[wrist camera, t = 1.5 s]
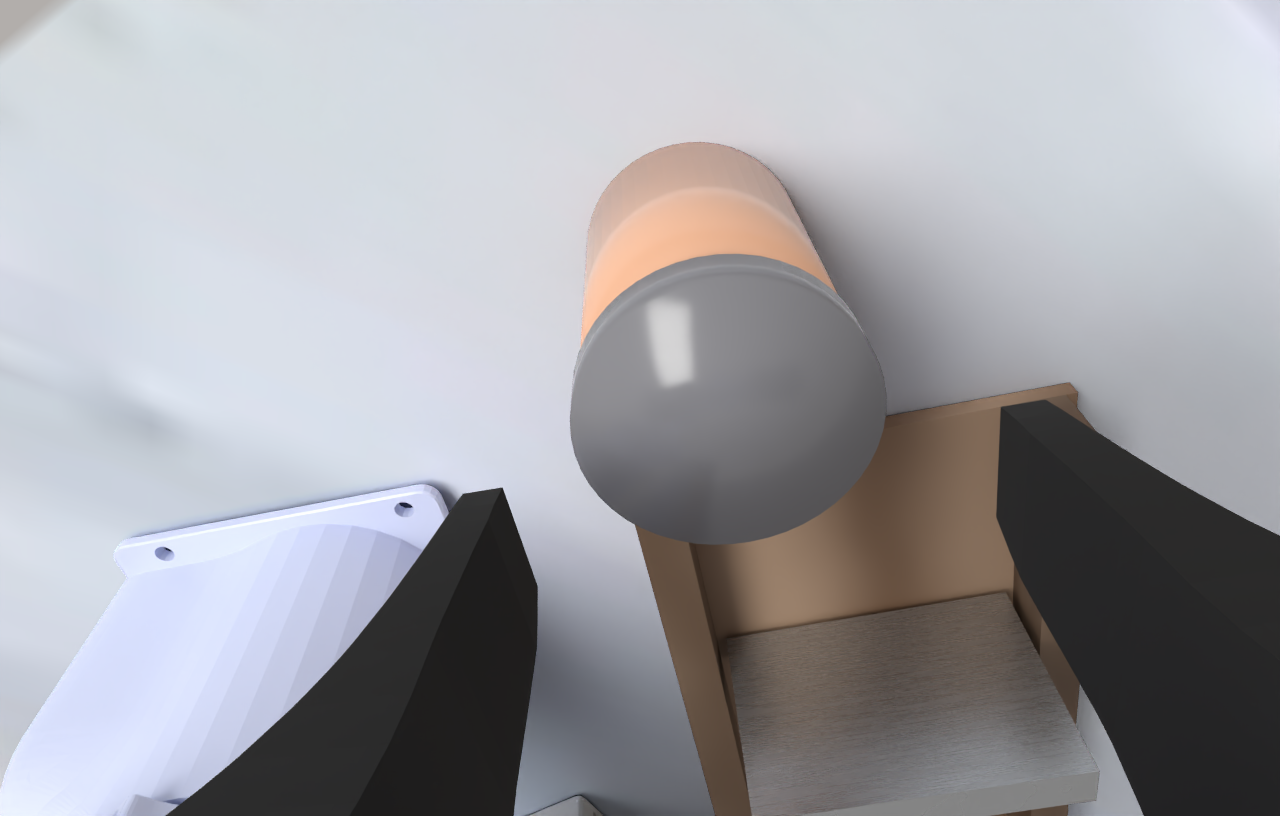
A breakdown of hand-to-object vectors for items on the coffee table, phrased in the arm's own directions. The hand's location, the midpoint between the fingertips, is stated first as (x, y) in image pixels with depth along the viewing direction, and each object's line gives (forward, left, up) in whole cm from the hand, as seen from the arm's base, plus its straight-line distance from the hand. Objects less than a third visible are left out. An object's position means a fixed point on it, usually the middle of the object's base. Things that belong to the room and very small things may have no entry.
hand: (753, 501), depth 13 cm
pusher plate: (+3, -13, -10) cm, 16 cm away
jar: (0, 0, -10) cm, 10 cm away
